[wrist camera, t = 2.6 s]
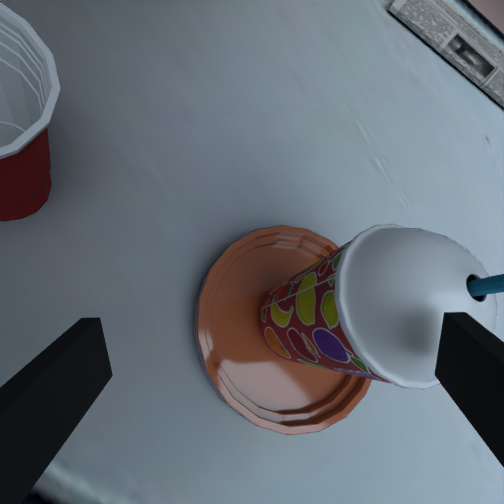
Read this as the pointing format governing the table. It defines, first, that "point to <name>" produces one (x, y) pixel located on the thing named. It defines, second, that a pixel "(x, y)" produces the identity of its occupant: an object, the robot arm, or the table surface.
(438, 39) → the newspaper
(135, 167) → the table surface
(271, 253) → the plate
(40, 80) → the plastic cup
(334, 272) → the smoothie
